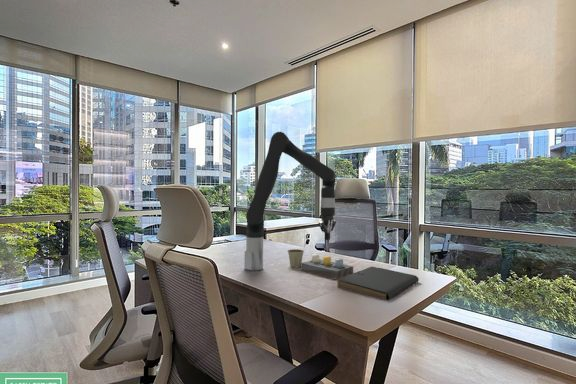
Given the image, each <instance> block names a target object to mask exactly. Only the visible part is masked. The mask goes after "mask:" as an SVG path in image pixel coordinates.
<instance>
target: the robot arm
mask: <svg viewBox="0 0 576 384" xmlns="http://www.w3.org/2000/svg"><path fill="white" fill-rule="evenodd" d="M282 154H285V155H287V156H289V157H291V158H292V159H294V160H295V161H297V163H299V164H300V165H302V166H303V167H304V168H306V169H307V170H309V171H310V172H311V173H314V174H315V175H316V176H317V177H319V178H320V179H321V181H322V187H321V189H320V213H319V214H320V216H321V220H320V221H319V222H318V225H319V228H320V230H321V232H322V233H324V240H325V241H329V240H331V233H332V232H333V231H334V229H335V226H336V224H337V221H336V220H335V219H334V216H336V199H335V196H336V195H335V194H336V191H335V185H336V173H335V171H334V169H332V168H330V167H329V166H327V165H325V164H324V163H322V162H321V161H320V160H319V159H318V158H316V157H315V156H313V155H311V154H310V153H308V152H306V151H304V150H303V149H301V148H299V147H298V146H296V145H295V144H294V143H293V142H292V141H291V140H290V138H289V137H288V136H287V134H285V132H283V131H276V132H274V133H273V135H272V136H271V138H270V141H269V146H268V150H267V154H266V157H265V159H264V161H263V165H262V167H261V170H260V174H259V175H258V179H257V183H256V186H255V190H254V195H253V198H252V200H251V203H250V205H249V207H248V209H247V211H246V213H245V218H246V234H245V239H246V241H245V242H246V243H245V251H244V264H243V265H244V269H245V270H248V271H252V272H253V271H261V270H263V269H264V233H265V232H264V230H265V229H264V228H265V214H264V213H265V208H266V206H267V202H268V199H269V198H270V196H271V193H272V191H273V190H274V188H275V184H276V182H277V178H278V175H279V167H280V160H281V156H282Z"/></svg>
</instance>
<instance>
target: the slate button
mask: <svg viewBox="0 0 576 384" xmlns="http://www.w3.org/2000/svg"><path fill="white" fill-rule="evenodd" d="M334 262H335V268H338V269H342V268H343V264H344V258H335V259H334Z"/></svg>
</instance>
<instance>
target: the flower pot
mask: <svg viewBox="0 0 576 384" xmlns="http://www.w3.org/2000/svg"><path fill="white" fill-rule="evenodd" d="M304 253H305V250H304V249H295V248H294V249H288V250H287V254H288V259H289V266H290V267H292V268H299V267H300V268H301V263H303V255H304Z"/></svg>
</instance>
